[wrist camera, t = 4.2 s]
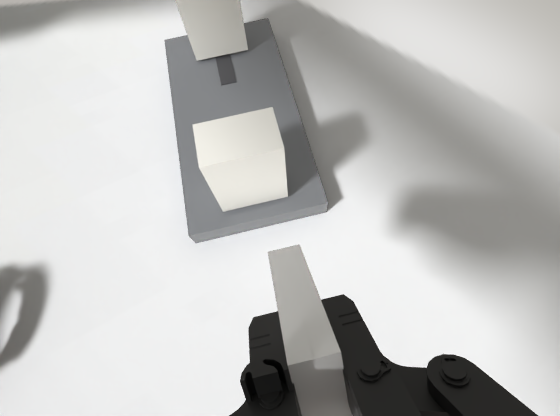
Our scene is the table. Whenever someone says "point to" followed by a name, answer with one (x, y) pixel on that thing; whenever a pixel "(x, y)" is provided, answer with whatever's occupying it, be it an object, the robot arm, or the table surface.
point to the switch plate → (232, 101)
